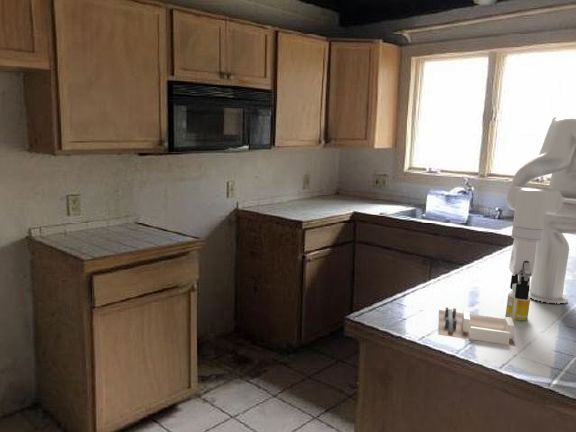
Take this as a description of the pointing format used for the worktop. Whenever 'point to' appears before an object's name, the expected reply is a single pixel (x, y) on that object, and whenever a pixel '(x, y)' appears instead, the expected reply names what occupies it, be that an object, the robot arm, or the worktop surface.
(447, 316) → the cable run
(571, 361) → the worktop surface
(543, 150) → the robot arm
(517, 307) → the supplement bottle
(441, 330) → the board
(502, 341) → the holder
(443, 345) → the worktop surface
